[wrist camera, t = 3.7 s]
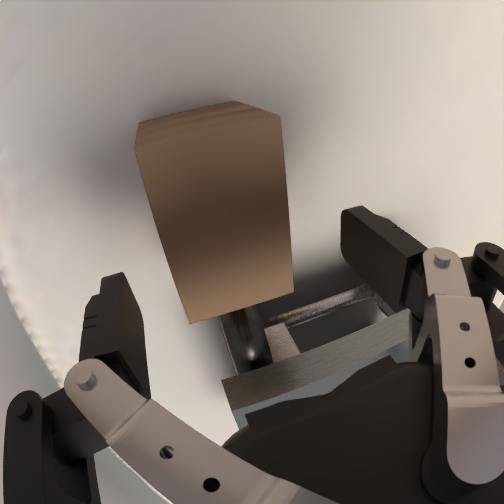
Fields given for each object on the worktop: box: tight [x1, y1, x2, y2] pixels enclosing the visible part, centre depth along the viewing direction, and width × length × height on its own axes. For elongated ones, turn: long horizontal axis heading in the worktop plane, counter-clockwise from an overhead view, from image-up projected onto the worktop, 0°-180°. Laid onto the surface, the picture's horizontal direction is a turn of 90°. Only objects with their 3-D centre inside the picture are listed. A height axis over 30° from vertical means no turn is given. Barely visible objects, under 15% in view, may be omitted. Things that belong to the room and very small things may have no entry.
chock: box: [134, 101, 294, 324], centre depth 15 cm, size 8×5×6 cm, turn 8°
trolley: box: [218, 283, 504, 430], centre depth 16 cm, size 16×16×23 cm
